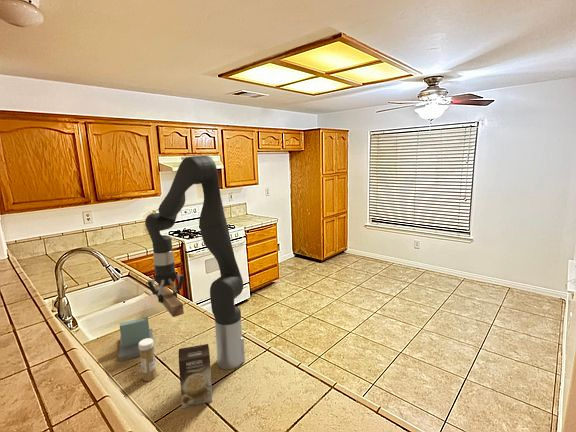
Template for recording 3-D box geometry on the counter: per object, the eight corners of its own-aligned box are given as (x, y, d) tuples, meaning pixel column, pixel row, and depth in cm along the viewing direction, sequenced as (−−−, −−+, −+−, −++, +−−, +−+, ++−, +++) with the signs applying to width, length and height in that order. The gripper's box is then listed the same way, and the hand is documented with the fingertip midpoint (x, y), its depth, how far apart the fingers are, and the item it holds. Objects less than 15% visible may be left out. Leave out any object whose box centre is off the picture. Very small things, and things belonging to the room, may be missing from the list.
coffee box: (181, 409, 89) (177, 361, 86) (181, 394, 95) (177, 348, 92) (213, 401, 92) (209, 354, 89) (211, 386, 98) (208, 342, 95)
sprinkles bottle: (158, 378, 102) (154, 342, 99) (143, 383, 99) (139, 347, 97) (155, 370, 106) (151, 336, 103) (141, 375, 103) (137, 340, 101)
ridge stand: (152, 331, 130) (149, 309, 128) (154, 352, 116) (151, 327, 114) (121, 338, 125) (118, 315, 123) (118, 361, 110) (115, 335, 108)
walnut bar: (164, 291, 134) (163, 283, 134) (183, 313, 114) (182, 304, 113) (154, 294, 132) (153, 285, 131) (173, 317, 112) (172, 307, 111)
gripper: (144, 267, 113) (149, 309, 116) (184, 261, 119) (187, 301, 123) (144, 262, 120) (148, 301, 123) (181, 256, 126) (185, 294, 129)
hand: (168, 301), depth 123 cm, fingers closed on walnut bar, 4 cm apart
